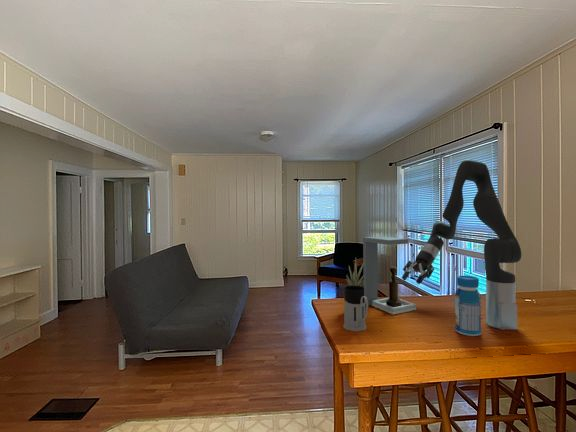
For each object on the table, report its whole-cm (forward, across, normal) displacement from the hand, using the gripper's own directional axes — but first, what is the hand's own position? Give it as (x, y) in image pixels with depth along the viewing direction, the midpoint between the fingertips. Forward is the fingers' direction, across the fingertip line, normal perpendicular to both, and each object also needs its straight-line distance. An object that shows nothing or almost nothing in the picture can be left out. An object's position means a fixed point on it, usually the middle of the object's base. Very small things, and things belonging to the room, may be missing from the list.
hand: (410, 281), depth 145 cm
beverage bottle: (+13, +33, +3) cm, 36 cm away
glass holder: (+37, +13, -21) cm, 45 cm away
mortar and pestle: (+15, 0, 0) cm, 15 cm away
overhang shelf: (+16, -2, 0) cm, 16 cm away
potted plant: (+30, -2, -14) cm, 33 cm away
